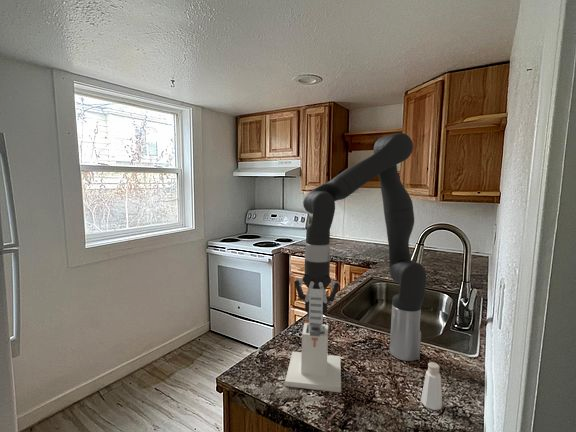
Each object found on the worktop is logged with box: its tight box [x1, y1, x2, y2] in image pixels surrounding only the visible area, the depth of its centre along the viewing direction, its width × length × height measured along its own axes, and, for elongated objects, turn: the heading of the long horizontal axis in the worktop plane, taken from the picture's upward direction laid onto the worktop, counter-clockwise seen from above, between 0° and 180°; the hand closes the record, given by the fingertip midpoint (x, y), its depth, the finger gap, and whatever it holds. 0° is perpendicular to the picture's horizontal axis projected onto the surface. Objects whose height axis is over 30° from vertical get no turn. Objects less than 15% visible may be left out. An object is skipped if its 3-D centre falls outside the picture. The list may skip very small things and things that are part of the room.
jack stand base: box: [284, 322, 342, 393], centre depth 94 cm, size 16×16×15 cm
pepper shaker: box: [420, 361, 443, 411], centre depth 81 cm, size 5×5×11 cm
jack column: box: [309, 288, 324, 334], centre depth 92 cm, size 4×4×22 cm
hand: (315, 312), depth 92 cm, fingers closed on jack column, 4 cm apart
